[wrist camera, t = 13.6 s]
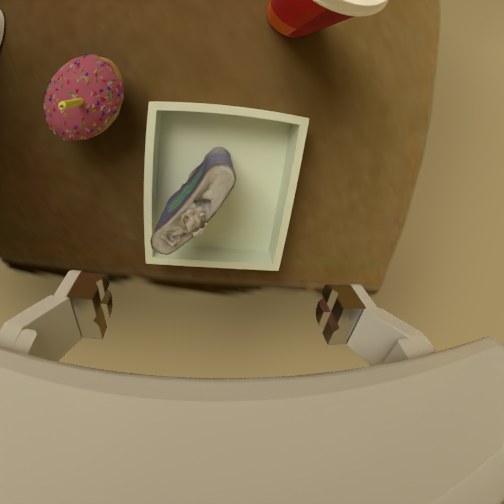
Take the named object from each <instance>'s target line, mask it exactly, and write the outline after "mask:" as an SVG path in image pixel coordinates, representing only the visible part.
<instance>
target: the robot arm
mask: <svg viewBox="0 0 504 504" xmlns="http://www.w3.org/2000/svg"><path fill="white" fill-rule="evenodd" d="M3 32H4V16H3V13H2V11H1V10H0V45H1V42H2V38H3ZM108 286H109V278H108V275H107V274H106V273H97V272H88V271H79V270H70V271H69V272H68V273H67V275H66V276H65V278H64V279H63V281H62V283H61V284H60V286H59V287H58V289H57V291H56V292H55V294H54V296H53V295H50V296H48V297H46V298H45V299H43V300H41V301H39V302H38V303H36V304H34V305H33V306H31V307H30V308H28V309H26V310H24V311H23V312H21V313H19V314H18V315H16V316H15V317H13V318H12V319H10V320H8V321H7V322H5V323H4V325H3V327H2V328H1V330H0V504H504V344H503V343H501V342H499V341H498V340H496V339H494V338H492V337H484V338H481V339H478V340H475V341H472V342H469V343H466V344H462V345H459V346H456V347H452V348H449V349H445V350H442V351H438V352H436V350H435V349H434V347H433V346H432V345H431V343H430V342H429V340H428V339H427V338H426V336H425V335H424V334H423V333H421V332H420V331H418V330H416V329H415V328H413V327H411V326H410V325H408V324H406V323H405V322H403V321H401V320H400V319H398V318H396V317H395V316H393V315H391V314H389V313H388V312H386V311H385V310H383V309H381V308H377V306H376V305H375V304H374V302H373V301H372V299H371V298H370V297H369V295H368V294H367V292H366V291H365V290H364V288H363V287H362V286H361V285H359V284H348V285H325V286H324V288H323V290H322V295H323V298H322V299H321V300H320V301H319V302H318V305H317V308H316V319H317V322H318V324H319V325H320V326H321V327H323V328H324V330H323V335H324V337H325V340H326V342H327V344H328V345H334V344H347V346H349V347H350V348H351V349H352V350H353V351H354V352H355V353H357V354H358V355H359V356H360V357H361V358H362V359H363V360H364V361H366V362H367V363H368V364H369V365H370V366H368V367H362V368H356V369H350V370H343V371H335V372H327V373H318V374H307V375H297V376H282V377H263V378H185V377H167V376H153V375H143V374H133V373H125V372H117V371H109V370H102V369H96V368H90V367H84V366H78V365H73V364H68V363H63V362H58V361H59V360H60V359H61V358H62V357H63V356H64V355H65V354H66V353H67V352H68V351H69V350H70V349H71V348H72V347H73V346H74V345H75V344H76V343H78V341H80V340H81V339H82V337H85V338H94V339H103V337H104V334H105V331H106V328H107V325H106V320H108V319H109V318H110V315H111V312H112V295H111V293H110V292H109V290H108V289H107V288H108Z"/></svg>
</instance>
